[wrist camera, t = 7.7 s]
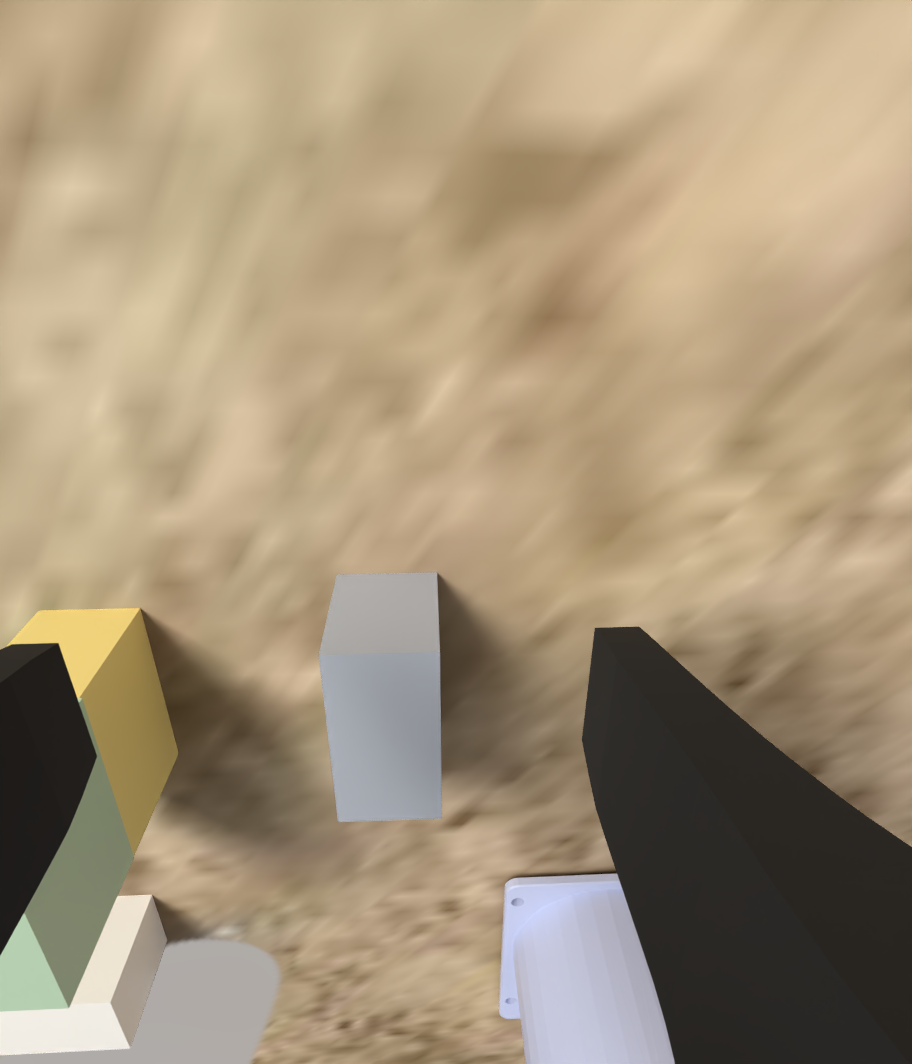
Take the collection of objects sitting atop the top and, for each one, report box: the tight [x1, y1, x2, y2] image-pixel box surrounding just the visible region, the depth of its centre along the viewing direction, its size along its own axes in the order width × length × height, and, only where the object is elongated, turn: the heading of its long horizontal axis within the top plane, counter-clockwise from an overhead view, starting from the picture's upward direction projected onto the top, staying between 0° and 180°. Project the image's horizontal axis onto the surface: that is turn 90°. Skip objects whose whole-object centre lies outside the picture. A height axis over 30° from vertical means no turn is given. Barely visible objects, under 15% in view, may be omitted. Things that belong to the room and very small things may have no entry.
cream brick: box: [0, 895, 167, 1055], centre depth 25 cm, size 6×3×4 cm, turn 90°
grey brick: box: [319, 572, 442, 822], centre depth 19 cm, size 6×3×4 cm, turn 0°
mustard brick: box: [6, 608, 179, 855], centre depth 19 cm, size 6×3×4 cm, turn 0°
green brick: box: [0, 698, 134, 1012], centre depth 16 cm, size 6×3×4 cm, turn 0°
